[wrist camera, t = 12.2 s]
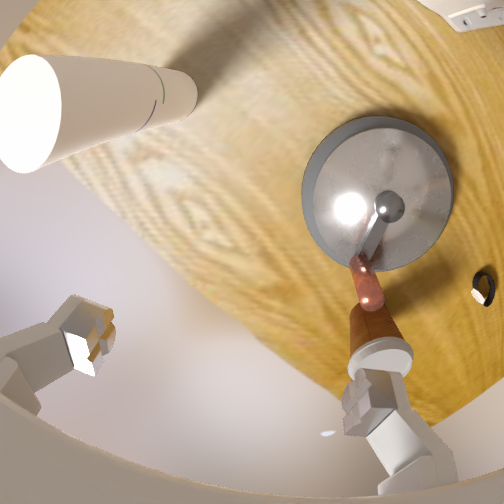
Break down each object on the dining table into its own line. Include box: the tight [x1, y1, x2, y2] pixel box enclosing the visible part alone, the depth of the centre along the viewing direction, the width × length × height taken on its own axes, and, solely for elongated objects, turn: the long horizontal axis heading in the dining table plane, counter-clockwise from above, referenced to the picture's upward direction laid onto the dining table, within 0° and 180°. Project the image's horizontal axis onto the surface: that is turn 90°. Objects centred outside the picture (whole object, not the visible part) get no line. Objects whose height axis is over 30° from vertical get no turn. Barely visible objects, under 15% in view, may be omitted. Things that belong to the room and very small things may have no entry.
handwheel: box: [313, 128, 451, 311], centre depth 31 cm, size 19×18×10 cm
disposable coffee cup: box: [348, 303, 413, 380], centre depth 41 cm, size 10×10×12 cm
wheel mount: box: [301, 116, 454, 272], centre depth 36 cm, size 21×21×2 cm
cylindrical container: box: [0, 55, 198, 173], centre depth 23 cm, size 7×7×25 cm
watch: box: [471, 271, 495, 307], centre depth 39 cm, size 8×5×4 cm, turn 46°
